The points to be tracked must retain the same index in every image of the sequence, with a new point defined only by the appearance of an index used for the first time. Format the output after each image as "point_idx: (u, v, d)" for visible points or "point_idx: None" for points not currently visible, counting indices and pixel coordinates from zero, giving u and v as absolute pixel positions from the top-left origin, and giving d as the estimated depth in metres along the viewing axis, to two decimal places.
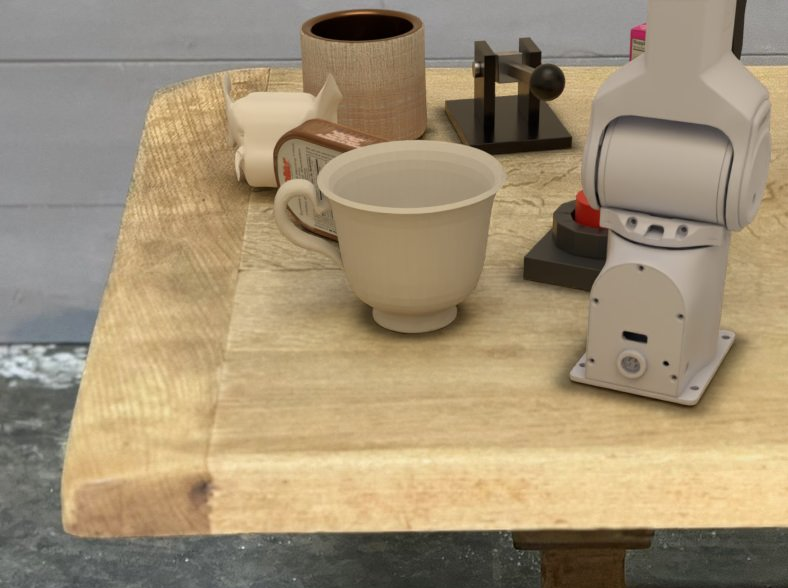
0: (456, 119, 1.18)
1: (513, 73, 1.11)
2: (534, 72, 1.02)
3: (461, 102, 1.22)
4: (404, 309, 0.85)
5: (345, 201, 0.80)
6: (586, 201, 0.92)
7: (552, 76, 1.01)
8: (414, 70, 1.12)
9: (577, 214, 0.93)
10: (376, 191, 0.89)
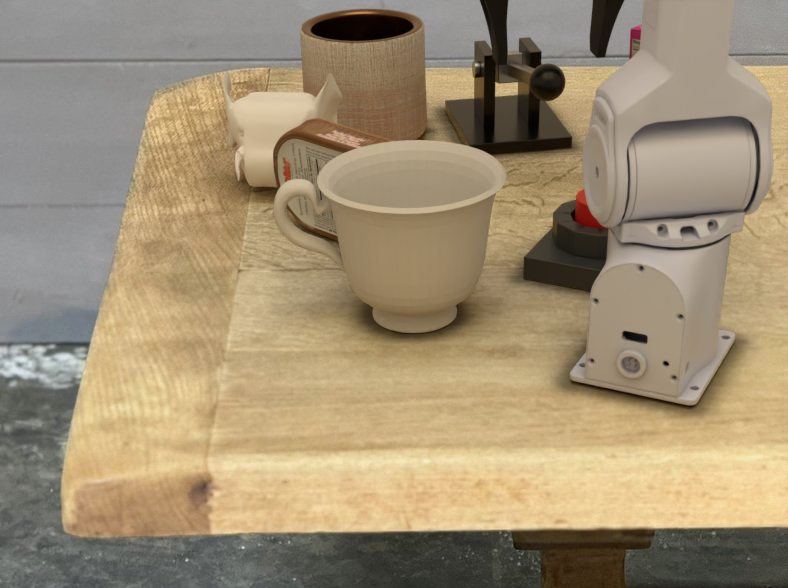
0: (456, 119, 1.18)
1: (513, 73, 1.11)
2: (534, 72, 1.02)
3: (461, 102, 1.22)
4: (404, 309, 0.85)
5: (345, 201, 0.80)
6: (586, 201, 0.92)
7: (552, 76, 1.01)
8: (415, 70, 1.12)
9: (577, 214, 0.93)
10: (376, 191, 0.89)
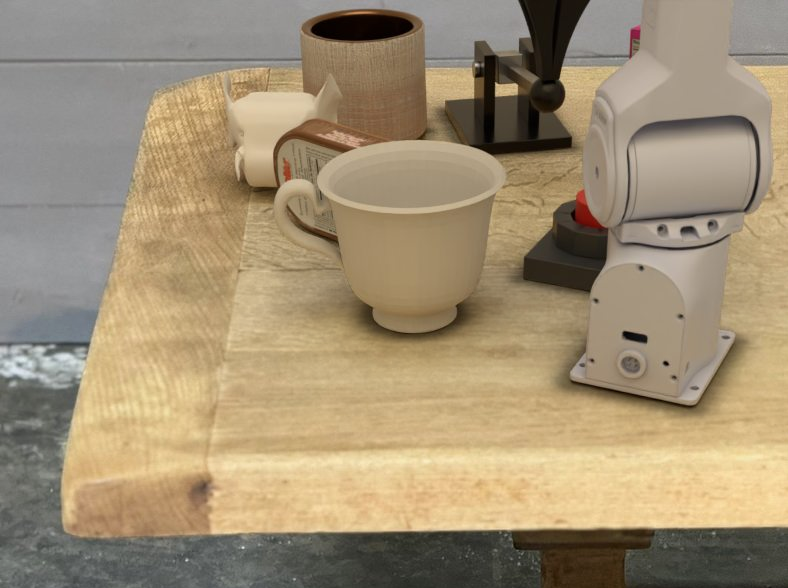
0: (456, 119, 1.18)
1: (513, 77, 1.11)
2: (534, 84, 1.02)
3: (461, 102, 1.22)
4: (404, 309, 0.85)
5: (345, 201, 0.80)
6: None
7: (552, 89, 1.01)
8: (415, 70, 1.12)
9: (577, 214, 0.93)
10: (376, 191, 0.89)
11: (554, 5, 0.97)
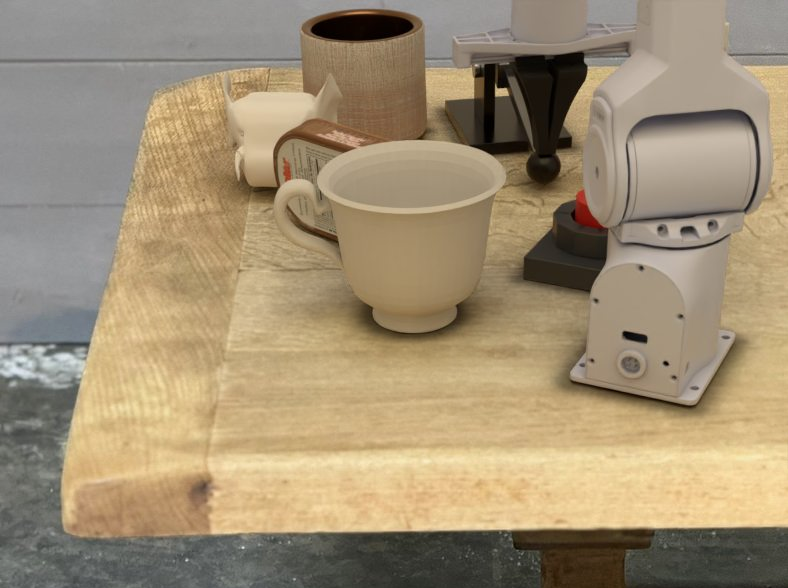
0: (456, 119, 1.18)
1: (512, 100, 1.12)
2: (532, 161, 1.05)
3: (461, 102, 1.22)
4: (404, 309, 0.85)
5: (345, 201, 0.80)
6: None
7: (548, 170, 1.05)
8: (415, 70, 1.12)
9: (577, 214, 0.93)
10: (376, 191, 0.89)
11: (550, 85, 1.00)
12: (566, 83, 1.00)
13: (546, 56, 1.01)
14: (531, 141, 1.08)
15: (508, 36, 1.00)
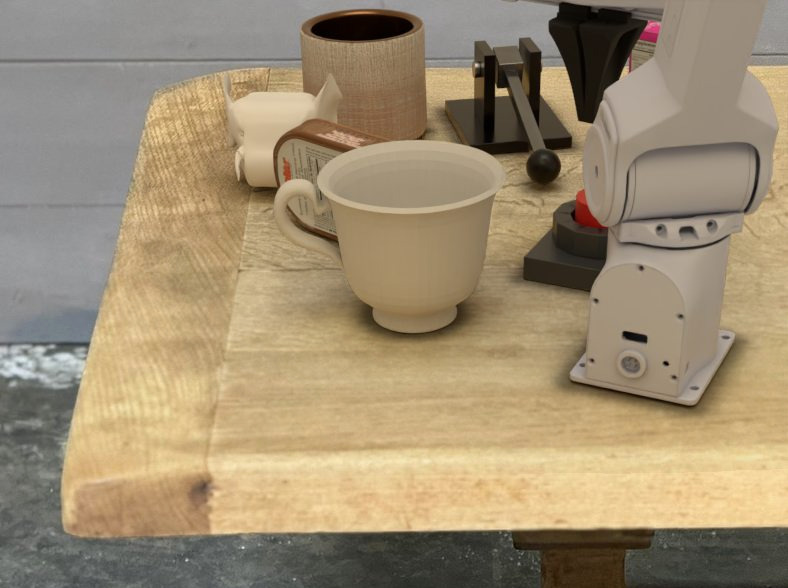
0: (456, 119, 1.18)
1: (512, 100, 1.12)
2: (532, 161, 1.05)
3: (461, 102, 1.22)
4: (404, 309, 0.85)
5: (345, 201, 0.80)
6: (586, 201, 0.92)
7: (548, 170, 1.05)
8: (415, 70, 1.12)
9: (577, 214, 0.93)
10: (376, 191, 0.89)
11: (575, 40, 0.88)
12: (590, 41, 0.87)
13: (594, 8, 0.89)
14: (531, 141, 1.08)
15: None
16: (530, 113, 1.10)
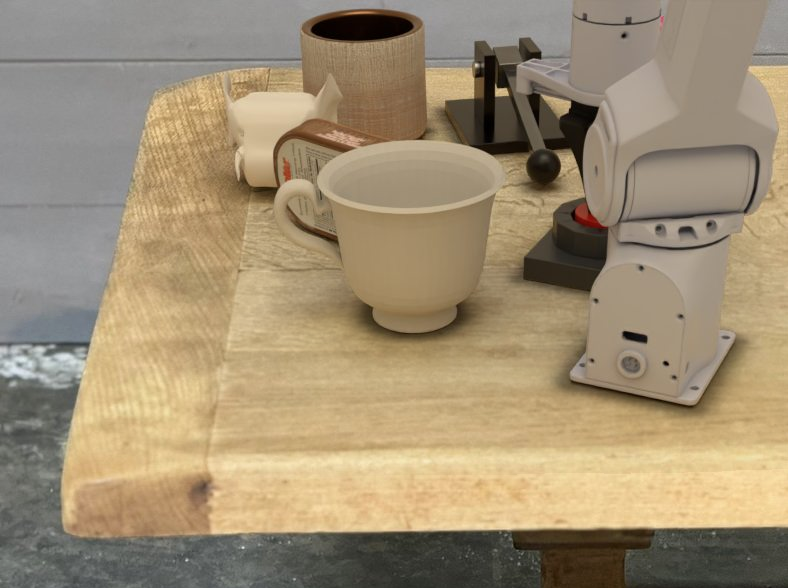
0: (456, 119, 1.18)
1: (512, 100, 1.12)
2: (532, 161, 1.05)
3: (461, 102, 1.22)
4: (404, 309, 0.85)
5: (345, 201, 0.80)
6: (586, 216, 0.93)
7: (548, 170, 1.05)
8: (415, 70, 1.12)
9: None
10: (376, 191, 0.89)
11: (584, 138, 0.89)
12: None
13: None
14: (531, 141, 1.08)
15: None
16: (530, 113, 1.10)
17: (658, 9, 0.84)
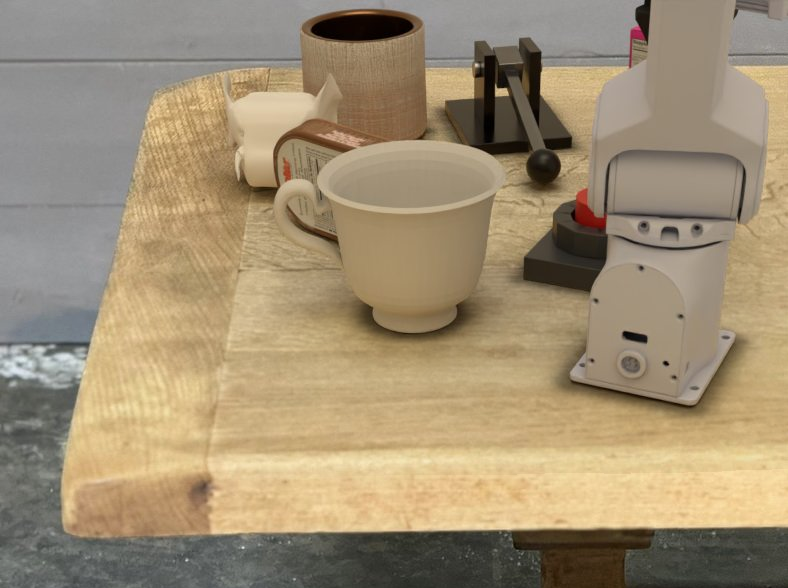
0: (456, 119, 1.18)
1: (512, 100, 1.12)
2: (532, 161, 1.05)
3: (461, 102, 1.22)
4: (404, 309, 0.85)
5: (345, 201, 0.80)
6: (586, 201, 0.92)
7: (548, 170, 1.05)
8: (415, 70, 1.12)
9: (577, 214, 0.93)
10: (376, 191, 0.89)
11: None
12: None
13: None
14: (531, 141, 1.08)
15: None
16: (530, 113, 1.10)
17: None
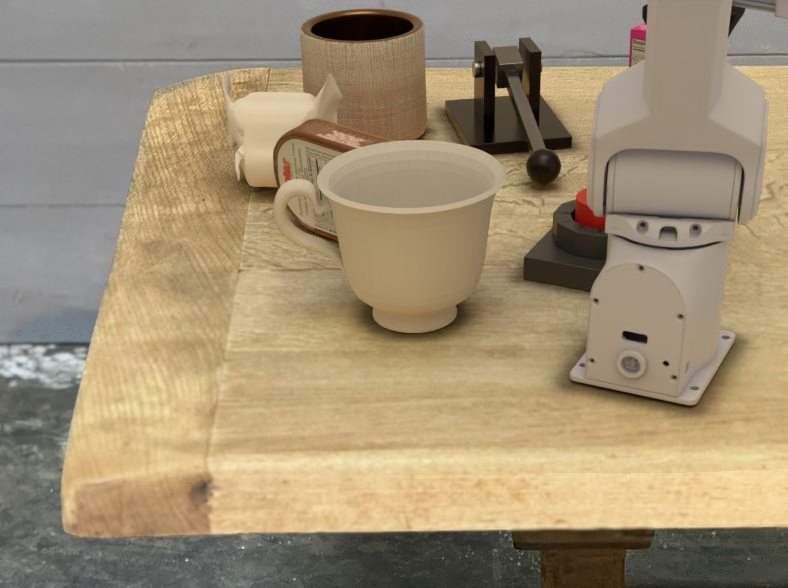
0: (456, 119, 1.18)
1: (512, 100, 1.12)
2: (532, 161, 1.05)
3: (461, 102, 1.22)
4: (404, 309, 0.85)
5: (345, 201, 0.80)
6: (586, 201, 0.92)
7: (548, 170, 1.05)
8: (415, 70, 1.12)
9: (577, 214, 0.93)
10: (376, 191, 0.89)
11: None
12: None
13: None
14: (531, 141, 1.08)
15: None
16: (530, 113, 1.10)
17: None
